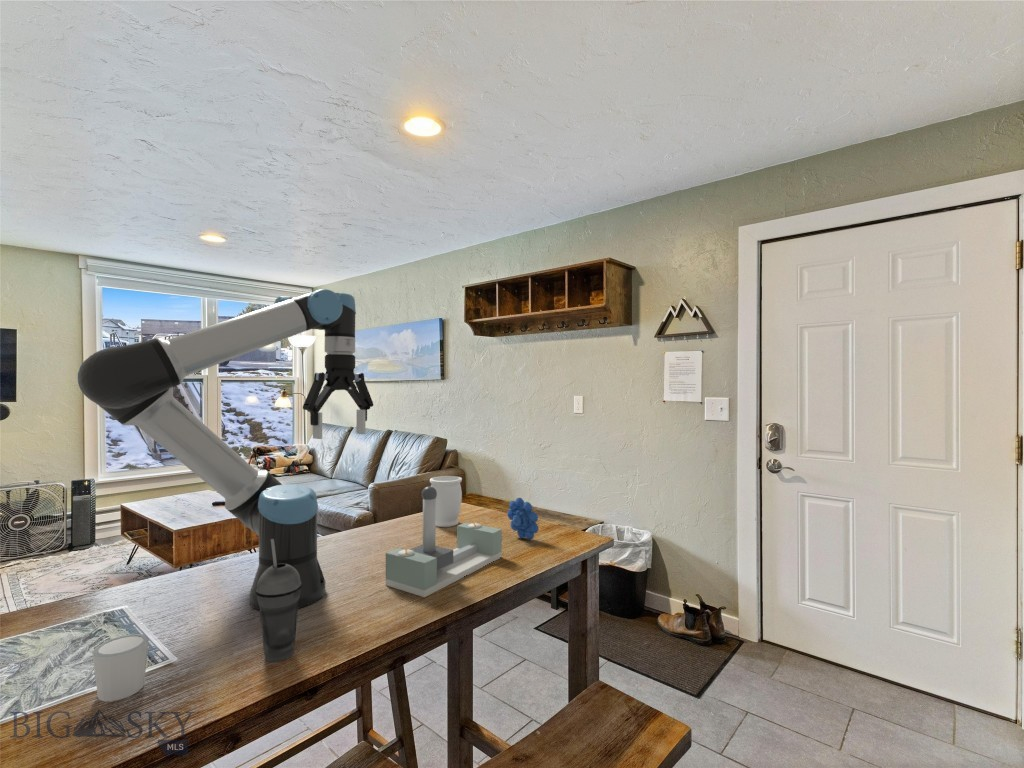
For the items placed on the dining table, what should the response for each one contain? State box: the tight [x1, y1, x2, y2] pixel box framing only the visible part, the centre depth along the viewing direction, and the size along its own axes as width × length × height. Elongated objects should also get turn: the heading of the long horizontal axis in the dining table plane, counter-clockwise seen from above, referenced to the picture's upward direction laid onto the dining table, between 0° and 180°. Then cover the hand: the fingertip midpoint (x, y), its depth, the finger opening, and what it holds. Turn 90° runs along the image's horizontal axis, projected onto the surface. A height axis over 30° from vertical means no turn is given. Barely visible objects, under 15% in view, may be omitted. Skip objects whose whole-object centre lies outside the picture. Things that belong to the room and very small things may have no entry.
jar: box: [429, 475, 463, 528], centre depth 168 cm, size 11×10×15 cm
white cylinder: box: [92, 633, 150, 702], centre depth 78 cm, size 7×7×7 cm
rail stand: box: [385, 522, 503, 598], centre depth 127 cm, size 30×12×8 cm, turn 147°
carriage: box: [409, 485, 453, 570], centre depth 121 cm, size 7×9×18 cm
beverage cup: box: [256, 539, 302, 663], centre depth 88 cm, size 7×7×20 cm
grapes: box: [506, 497, 539, 540], centre depth 152 cm, size 12×7×12 cm, turn 49°
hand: (340, 436), depth 132 cm, fingers open, 13 cm apart
